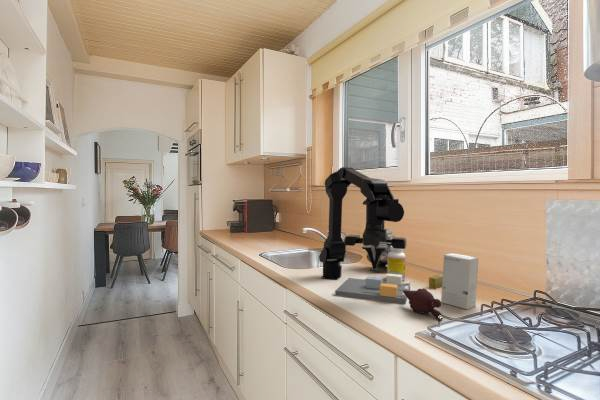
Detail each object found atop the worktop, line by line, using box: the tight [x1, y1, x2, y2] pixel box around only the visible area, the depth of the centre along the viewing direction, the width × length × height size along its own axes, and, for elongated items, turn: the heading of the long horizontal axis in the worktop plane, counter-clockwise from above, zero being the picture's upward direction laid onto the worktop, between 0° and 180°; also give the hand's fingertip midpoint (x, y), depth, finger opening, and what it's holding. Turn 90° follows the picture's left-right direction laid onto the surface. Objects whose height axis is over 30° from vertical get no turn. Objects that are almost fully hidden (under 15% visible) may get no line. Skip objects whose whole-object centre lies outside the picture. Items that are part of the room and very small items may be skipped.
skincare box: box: [440, 253, 479, 310], centre depth 102 cm, size 8×6×15 cm
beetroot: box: [403, 288, 444, 321], centre depth 96 cm, size 7×7×15 cm
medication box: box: [428, 272, 443, 290], centre depth 123 cm, size 12×3×4 cm, turn 127°
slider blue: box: [365, 276, 383, 289], centre depth 115 cm, size 5×4×3 cm
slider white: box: [385, 273, 403, 286], centre depth 119 cm, size 5×4×3 cm
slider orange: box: [380, 283, 398, 297], centre depth 106 cm, size 5×4×3 cm
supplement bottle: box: [387, 246, 406, 282], centre depth 131 cm, size 7×7×13 cm
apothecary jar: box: [366, 227, 396, 274], centre depth 146 cm, size 12×12×18 cm
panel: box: [334, 277, 411, 305], centre depth 115 cm, size 22×18×3 cm
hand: (374, 268), depth 108 cm, fingers closed
